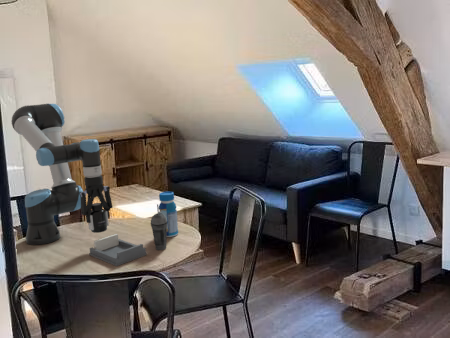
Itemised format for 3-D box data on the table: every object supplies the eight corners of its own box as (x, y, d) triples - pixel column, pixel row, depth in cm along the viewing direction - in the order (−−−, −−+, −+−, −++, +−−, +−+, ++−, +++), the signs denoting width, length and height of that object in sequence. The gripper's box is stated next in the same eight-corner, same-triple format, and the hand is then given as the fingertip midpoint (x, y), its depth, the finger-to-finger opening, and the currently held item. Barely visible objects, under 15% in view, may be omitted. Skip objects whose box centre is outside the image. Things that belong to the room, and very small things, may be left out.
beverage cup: (168, 244, 214) (165, 200, 210) (170, 250, 207) (166, 204, 203) (152, 246, 213) (148, 202, 209) (153, 252, 206) (149, 206, 202)
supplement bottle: (103, 233, 208) (100, 206, 206) (88, 233, 209) (85, 206, 207) (110, 228, 215) (107, 201, 212) (95, 228, 216) (92, 202, 214)
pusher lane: (89, 255, 207) (88, 243, 206) (119, 244, 217) (118, 234, 216) (116, 266, 193) (115, 254, 192) (146, 254, 203) (145, 243, 202)
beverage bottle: (177, 237, 223) (174, 195, 219) (159, 238, 223) (155, 195, 219) (179, 231, 231) (176, 190, 227) (162, 232, 232) (158, 191, 228)
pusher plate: (94, 251, 207) (93, 241, 206) (117, 244, 215) (116, 233, 214) (96, 252, 206) (95, 241, 205) (119, 244, 214) (118, 234, 213)
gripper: (76, 181, 198) (83, 235, 202) (117, 172, 212) (122, 222, 216) (67, 179, 203) (74, 231, 207) (108, 170, 217) (113, 220, 221)
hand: (99, 227), depth 212 cm, fingers closed on supplement bottle, 7 cm apart
